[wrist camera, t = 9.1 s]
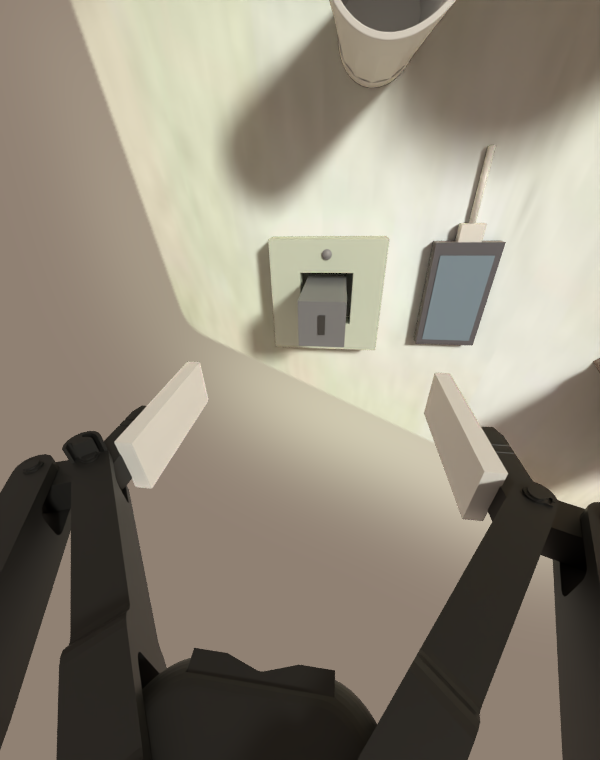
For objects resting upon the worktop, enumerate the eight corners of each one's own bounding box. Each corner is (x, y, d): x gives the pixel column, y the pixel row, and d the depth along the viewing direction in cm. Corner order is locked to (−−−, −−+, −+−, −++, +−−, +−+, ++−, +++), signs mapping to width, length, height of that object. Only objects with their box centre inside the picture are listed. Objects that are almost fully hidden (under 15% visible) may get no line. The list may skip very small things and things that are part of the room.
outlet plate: (272, 236, 32) (267, 239, 30) (386, 235, 31) (389, 239, 29) (279, 338, 38) (275, 347, 36) (373, 341, 37) (375, 350, 35)
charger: (308, 274, 34) (297, 301, 25) (346, 274, 33) (347, 302, 25) (308, 310, 36) (298, 346, 27) (343, 310, 35) (344, 347, 27)
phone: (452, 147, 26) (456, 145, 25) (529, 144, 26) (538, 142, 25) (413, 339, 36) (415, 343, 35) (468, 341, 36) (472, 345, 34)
